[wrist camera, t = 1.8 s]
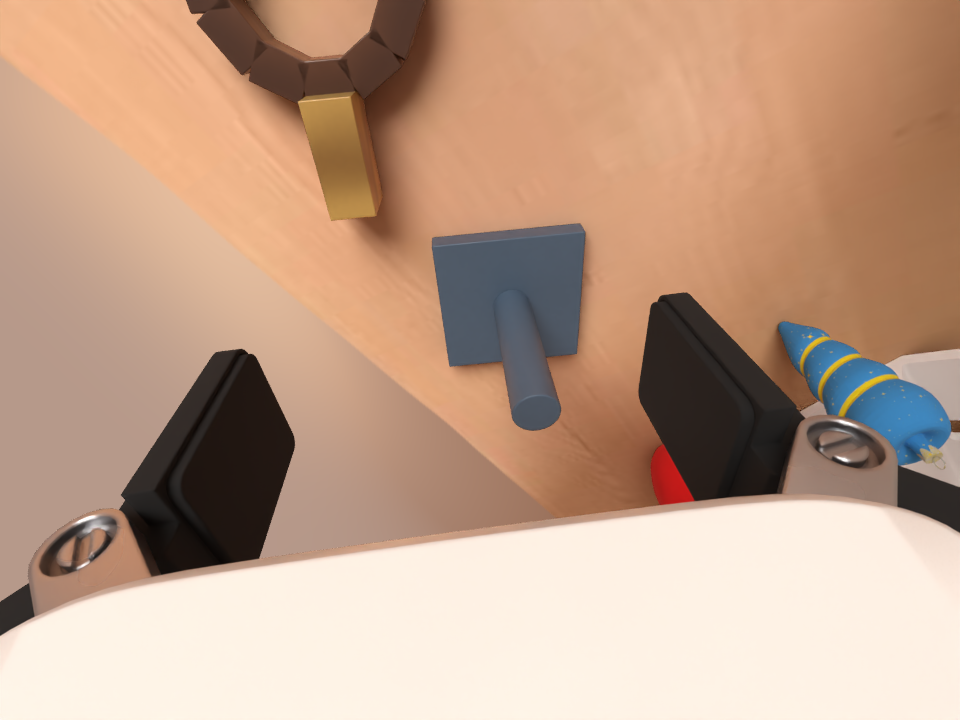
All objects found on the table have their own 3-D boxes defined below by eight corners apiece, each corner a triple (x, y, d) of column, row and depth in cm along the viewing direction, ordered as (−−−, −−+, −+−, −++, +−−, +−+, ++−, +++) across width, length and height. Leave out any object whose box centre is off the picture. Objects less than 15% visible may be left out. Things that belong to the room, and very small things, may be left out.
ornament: (747, 355, 39) (881, 507, 27) (750, 305, 36) (904, 453, 24) (811, 338, 38) (977, 486, 26) (820, 286, 35) (1013, 428, 23)
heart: (706, 468, 48) (759, 558, 40) (657, 487, 50) (698, 578, 42) (675, 400, 42) (730, 491, 34) (619, 424, 43) (659, 517, 35)
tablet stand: (829, 531, 58) (948, 691, 44) (744, 441, 46) (871, 622, 32) (995, 459, 51) (1196, 623, 37) (945, 331, 39) (1214, 503, 25)
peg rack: (432, 237, 31) (427, 346, 21) (580, 222, 31) (645, 324, 21) (449, 355, 37) (452, 483, 27) (572, 343, 37) (620, 466, 27)
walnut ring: (135, -195, 19) (80, -231, 16) (403, -219, 19) (396, -259, 16) (275, 206, 29) (256, 228, 26) (449, 189, 29) (450, 209, 26)
